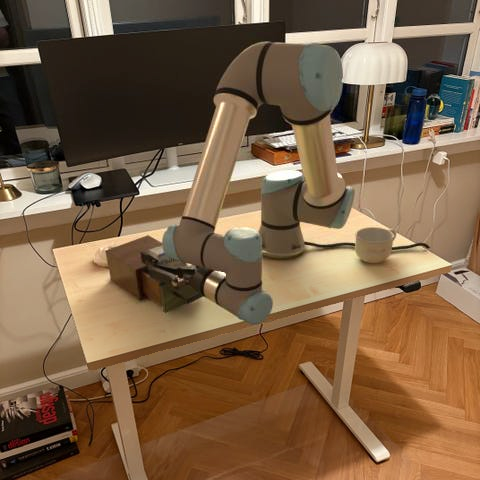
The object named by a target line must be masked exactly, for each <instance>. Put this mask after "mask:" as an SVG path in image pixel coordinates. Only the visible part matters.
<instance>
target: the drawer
mask: <svg viewBox="0 0 480 480" xmlns="http://www.w3.org/2000/svg"><path fill="white" fill-rule="evenodd" d="M186 266H187V267H188V266H190V264H189V265H188V263H186ZM139 277H140V283H141V290H142V294H144V295H145V296H146V297H148V298H147V299H149V300H151V301H152V302H154V303H155V304H156V305H158V306H160V307H161V309H162V313H164V314H168V313H170V312H172V311H174V310H176V309H178V308H180V307H182V306H184V305H189V304H192V303H194V302H196V301H198V300H200V299H202V298H205V297H204V296H202V295H200V294H199V293H197V292H196V291H195V290H194V289H193V288H192V286H190V285H186V284H182V285H179V289H174V288H173V287H172V286H171V285H168V284H164V285H162V283H161V282H160V281H158V280H156V279H154V278H151V277H149V271H148V268H147V269H144V270H142V271H139Z"/></svg>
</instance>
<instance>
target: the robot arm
mask: <svg viewBox="0 0 480 480" xmlns="http://www.w3.org/2000/svg"><path fill="white" fill-rule="evenodd" d="M343 79H344V69H343V64H342V60H341V57H340V54H339V52H338V51H337V50H336V49H335V48H334V47H332V46H330V45H326V44H320V43H317V42H312V43H311V42H310V43H295V42H294V43H291V42H272V41H260V42H257V43H255V44H252V45H250V46H249V47H247V48H245V49H244V50H243V51H242V52H240V53H239V54H238V55H237V56H236V57H235V58H234V59H233V60H232V61H231V63H230V64H229V66H228V67H227V69H226V70H225V71H224V73H223V75H222V76H221V78H220V80H219V83H218V84H217V87H216V90H215V92H214V96H213V103H214V106H215V109H214V113H213V115H212V119H211V122H210V126H209V129H208V132H207V134H206V138H205V142H204V145H203V148H202V151H201V155H200V157H199V160H198V163H197V168H196V171H195V174H194V177H193V180H192V184H191V187H190V190H189V193H188V196H187V199H186V203H185V206H184V210H183V213H182V215H181V219H180V222H179V223H178V224H171V225H169V226H168V227H167V229H166V230H165V231H164V233H163V235H162V239H161V243H162V248H163V251H164V253H165V255H166V256H168V257H169V258H171V259H174V260H177V261H180V262H182V263H186V264H187V265H188V264H189V266H188V267H186V266H179V267H177V266H172V265H167V264H162V263H158V260H157V259H155V258H154V257H152V256H150V255H148V254H147V253H145V252H143V251H142V252H140V253H141V260H142V262H143V263H144V264H146V267H148V271H149V277H151V278H154V279H156V280H159V281H161V282H163V283H166V284H168V285H171V286H172V287H173V288H174V289H179V285H182V284H186V285H190V286H192V288H193V289H194V290H195V291H196V292H197V293H199V294H200V295H202V296H204V297H203V298H205V299H208V300H209V301H211V302H212V303H214V304H215V305H217V306H219V307H221V308H223V309H224V310H225V311H227V312H229V313H230V314H231V315H233V316H235V317H237V318H238V320H240V321H241V320H242V321H243V322H245V323H247V324H250V325H254V326H255V325H259V324H261V323H263V322H265V321H266V320H267V319H268V318H269V316H270V315H271V313H272V310H273V307H274V300H273V298H272V296H271V294H269V293H268V292H267V291H266V290H263V280H262V277H263V276H262V275H263V257H265V258H268V259H271V260H272V259H273V260H285V259H286V260H289V259H293V258H296V257H299V256H300V255H301V254H303V253H304V251H305V245H306V246H311V247H315V248H321V249H328V248H329V249H330V248H335V247H344V246H345V247H346V246H347V247H355V242H336V243H329V244H328V243H327V244H320V243H315V242H310V241H305V239H304V236H303V232H302V228H301V223H304V224H310V225H315V226H319V227H323V228H328V229H334V230H335V229H337V230H339V229H342V228H343V227H345V225H346V223H347V222H348V219H349V217H350V214H351V211H352V207H353V204H354V200H355V195H356V191H355V188H354V187H351V186H350V185H348V186H346V181H345V179H344V177H343V176H342V175H341V174H340V173H338V164H337V157H336V149H335V143H334V142H335V141H334V137H333V129H332V122H331V121H332V120H331V114H332V113H333V110H334V109H335V108H336V107H337V106H338V103H339V102H340V99H341V96H342V92H343V88H344V87H343V86H344V83H343ZM263 104H264V105H272V106H279V107H280V111H281V114H282V117H283V119H284V121H285V122H287V123H288V124H289V125H291V127H292V131H293V134H294V135H293V136H294V141H295V144H296V149H297V154H298V157H299V162H300V166H301V171H302V172H301V171H298V170H294V169H293V170H292V169H291V170H290V169H289V170H279V171H275V172H272V173H269V174H267V175H266V176H264V177H263V179H262V182H261V190H260V201H261V202H260V203H261V204H260V225H259V229H258V230H256V229H254V228H251V227H240V226H237V227H234V228H231V229H229V230H227V231H226V232H225V234H220V233H216V232H215V230H216V228H217V224H218V221H219V217H220V214H221V211H222V208H223V205H224V201H225V198H226V195H227V192H228V189H229V187H230V183H231V179H232V176H233V173H234V170H235V167H236V164H237V160H238V158H239V154H240V151H241V148H242V144H243V142H244V138H245V135H246V131H247V129H248V126H249V122H250V120H251V119H254V118H255V117H256V116H257V112H258V109H259V107H260V106H261V105H263ZM417 247H424V248H426V249H431V247H430V246H429V244H428V243H425V242H417V243H412V244H408V245H398V246H392V250H391V251H397V250H407V249H408V250H409V249H412V248H417Z"/></svg>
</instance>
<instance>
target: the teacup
mask: <svg viewBox="0 0 480 480" xmlns="http://www.w3.org/2000/svg"><path fill="white" fill-rule="evenodd" d="M396 237H397V231H396V229H394V228H389V229H386V228H382V227H365V228H361V229H358V230H356V232H355V242H354V243H355V246H354V251H355V254H356V256H357V258H359V259H360V260H362V262H364V263H367V264H369V263H370V264H378V263H382V262H383V261H385V260H387V259H388V258H389V257H390V256H391V254H392V251H393V250H392V247H393V243H394V241H395V239H396Z"/></svg>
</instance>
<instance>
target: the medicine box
mask: <svg viewBox="0 0 480 480" xmlns="http://www.w3.org/2000/svg"><path fill="white" fill-rule="evenodd" d="M149 255H150V256H152V257H154V258H155V259H157V260H158V263H162V264H167V265H172V266H177V267H179V266H186V264H187V263H182V262H180V261H177V260H174V259H171V258H169V257H168V256H166V255H165V253H164V251H163V248H162V246H159V247H156V248H153V249H150V250H149ZM186 267H187V266H186ZM158 281H159V280H158ZM160 282H161V281H160ZM161 283H162V285H164V284H166V283H163V282H161Z"/></svg>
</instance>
